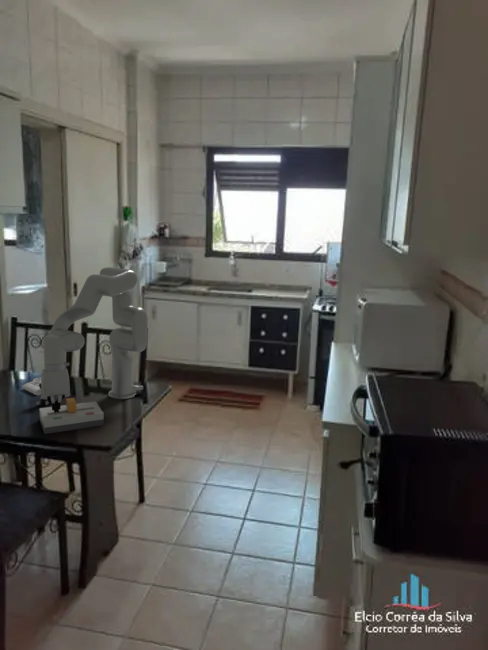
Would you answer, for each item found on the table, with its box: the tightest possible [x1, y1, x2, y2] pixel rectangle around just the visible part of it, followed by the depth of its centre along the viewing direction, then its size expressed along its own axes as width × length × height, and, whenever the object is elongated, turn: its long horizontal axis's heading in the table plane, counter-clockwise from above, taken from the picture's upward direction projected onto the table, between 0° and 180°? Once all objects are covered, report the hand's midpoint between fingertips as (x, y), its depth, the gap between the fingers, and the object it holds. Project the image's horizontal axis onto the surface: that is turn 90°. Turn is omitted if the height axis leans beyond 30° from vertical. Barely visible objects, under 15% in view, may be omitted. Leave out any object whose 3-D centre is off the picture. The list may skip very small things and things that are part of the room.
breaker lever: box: [65, 397, 77, 413], centre depth 199 cm, size 3×5×6 cm, turn 29°
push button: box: [36, 383, 52, 406], centre depth 216 cm, size 7×5×10 cm
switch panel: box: [39, 401, 105, 435], centre depth 201 cm, size 22×16×5 cm
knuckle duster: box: [21, 377, 41, 396], centre depth 235 cm, size 3×18×15 cm
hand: (56, 411), depth 196 cm, fingers closed
